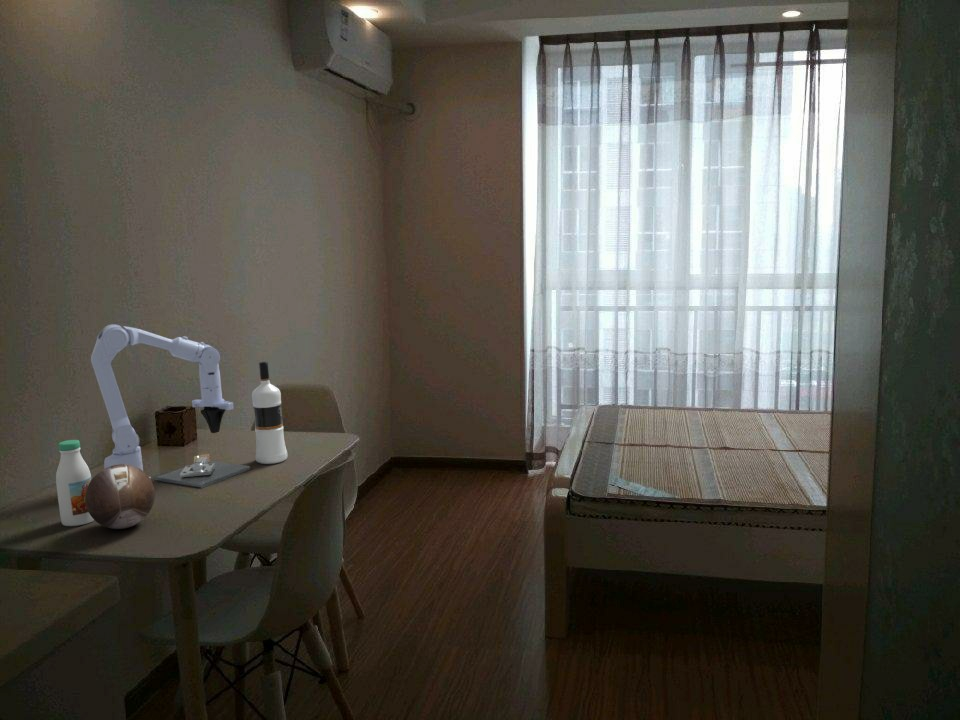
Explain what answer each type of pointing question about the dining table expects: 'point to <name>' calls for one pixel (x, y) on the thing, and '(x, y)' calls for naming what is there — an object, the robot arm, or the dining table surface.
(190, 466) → the silver flat metal piece
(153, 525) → the dining table surface
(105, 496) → the shiny brown metallic sphere
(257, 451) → the vodka
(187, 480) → the base plate
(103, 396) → the robot arm
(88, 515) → the milk bottle
